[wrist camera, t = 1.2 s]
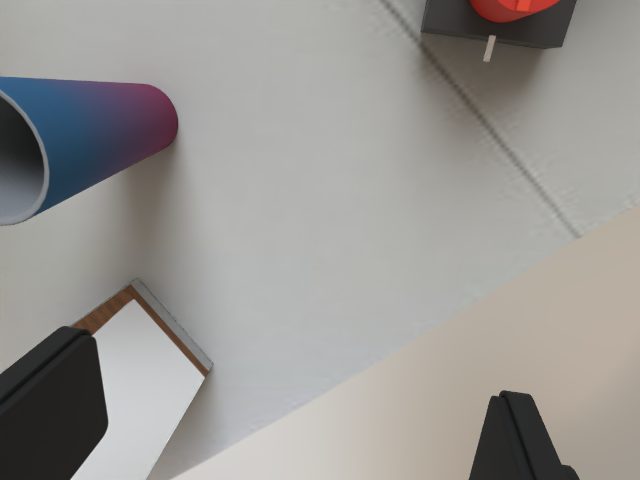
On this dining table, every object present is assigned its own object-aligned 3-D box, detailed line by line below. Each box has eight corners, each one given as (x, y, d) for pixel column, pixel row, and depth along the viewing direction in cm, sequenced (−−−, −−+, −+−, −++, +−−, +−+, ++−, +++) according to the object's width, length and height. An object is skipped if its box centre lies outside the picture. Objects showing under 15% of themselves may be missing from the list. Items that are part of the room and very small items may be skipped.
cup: (199, 93, 32) (59, 114, 19) (176, 176, 35) (38, 248, 21) (114, 55, 32) (-91, 47, 18) (97, 141, 35) (-93, 191, 21)
